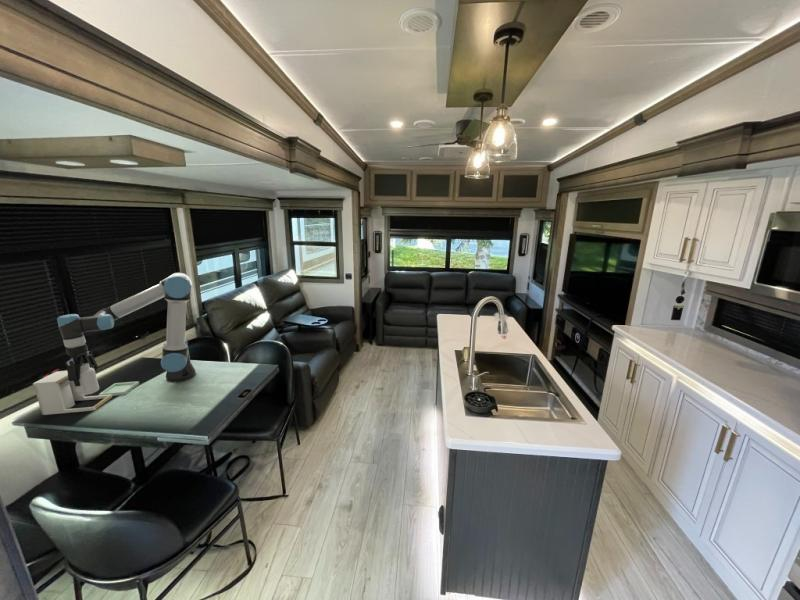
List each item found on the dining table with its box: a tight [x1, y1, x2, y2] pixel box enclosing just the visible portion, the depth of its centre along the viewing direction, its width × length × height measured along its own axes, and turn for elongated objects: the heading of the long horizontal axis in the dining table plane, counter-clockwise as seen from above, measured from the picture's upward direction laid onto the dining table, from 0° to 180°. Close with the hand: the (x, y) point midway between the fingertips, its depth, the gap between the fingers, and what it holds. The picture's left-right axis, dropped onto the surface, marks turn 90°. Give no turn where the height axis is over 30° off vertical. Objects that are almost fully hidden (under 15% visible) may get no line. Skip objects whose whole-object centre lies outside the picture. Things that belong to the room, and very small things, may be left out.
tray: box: [98, 380, 140, 397], centre depth 178 cm, size 12×12×2 cm
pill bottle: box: [76, 363, 100, 396], centre depth 161 cm, size 8×8×15 cm
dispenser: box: [32, 370, 113, 416], centre depth 161 cm, size 22×13×17 cm, turn 100°
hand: (87, 386), depth 162 cm, fingers closed on pill bottle, 8 cm apart
